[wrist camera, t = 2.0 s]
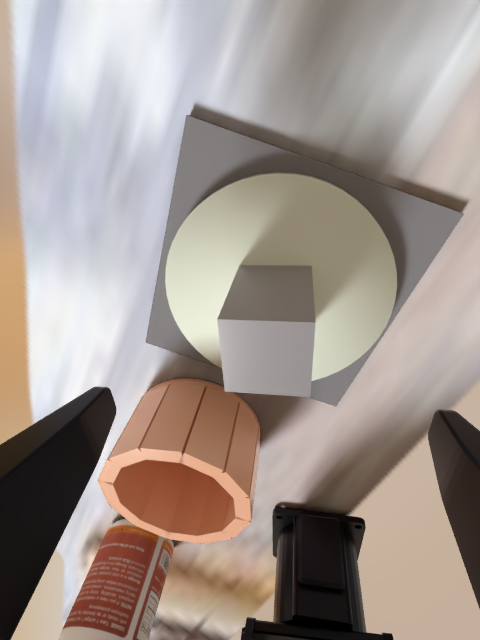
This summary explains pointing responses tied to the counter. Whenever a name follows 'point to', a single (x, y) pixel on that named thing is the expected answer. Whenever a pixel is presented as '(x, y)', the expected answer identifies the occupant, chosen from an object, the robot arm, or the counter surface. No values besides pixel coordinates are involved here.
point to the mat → (260, 157)
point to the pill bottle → (121, 586)
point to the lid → (280, 281)
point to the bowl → (186, 463)
